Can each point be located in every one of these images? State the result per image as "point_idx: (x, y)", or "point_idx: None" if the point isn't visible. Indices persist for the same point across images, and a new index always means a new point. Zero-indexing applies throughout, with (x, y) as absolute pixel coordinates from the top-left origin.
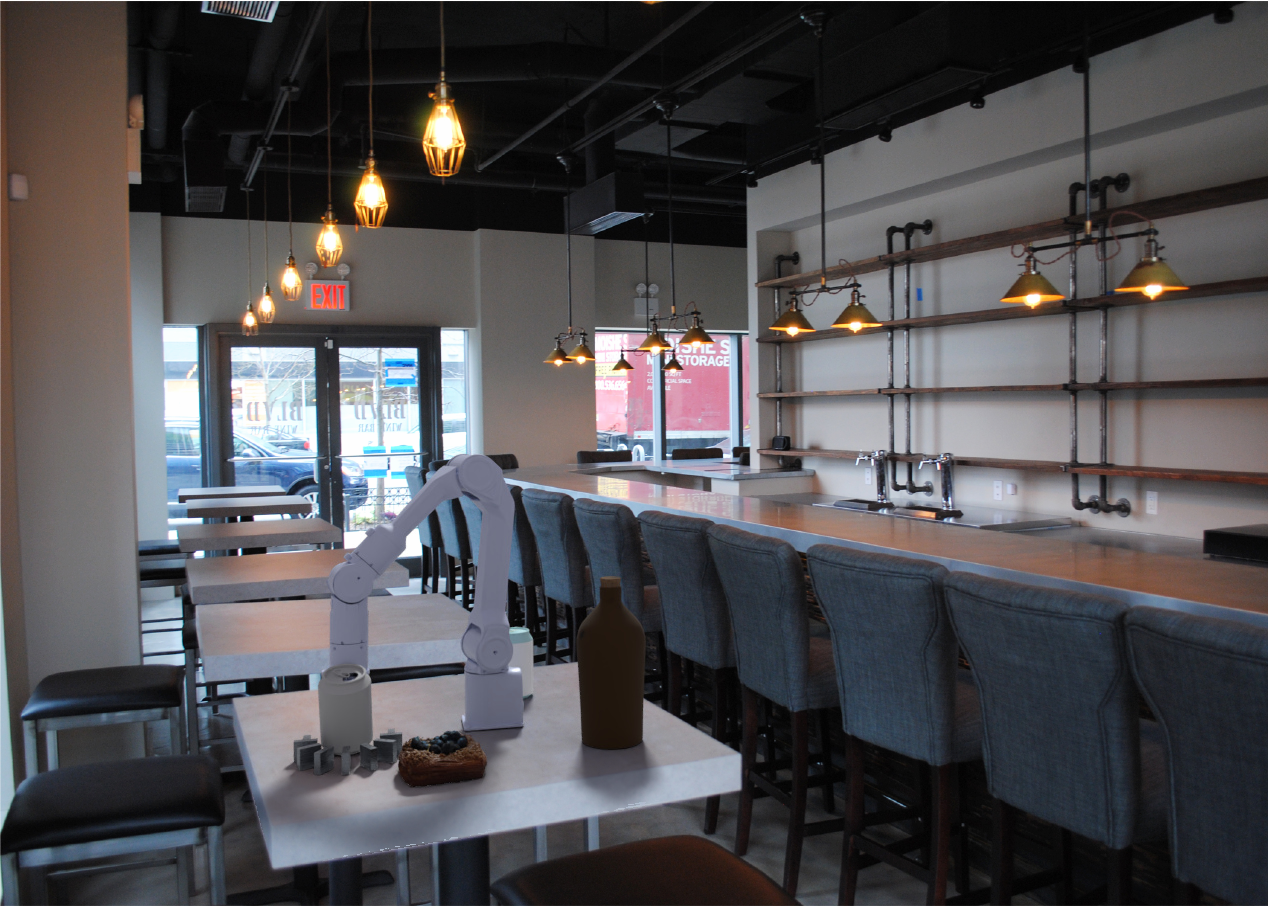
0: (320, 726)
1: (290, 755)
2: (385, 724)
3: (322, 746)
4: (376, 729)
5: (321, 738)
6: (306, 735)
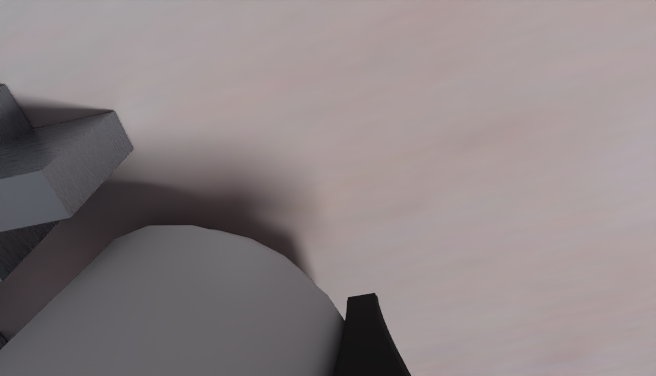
0: (31, 335)
1: (105, 13)
2: (637, 340)
3: (112, 241)
4: (564, 324)
5: (92, 268)
6: (40, 192)
